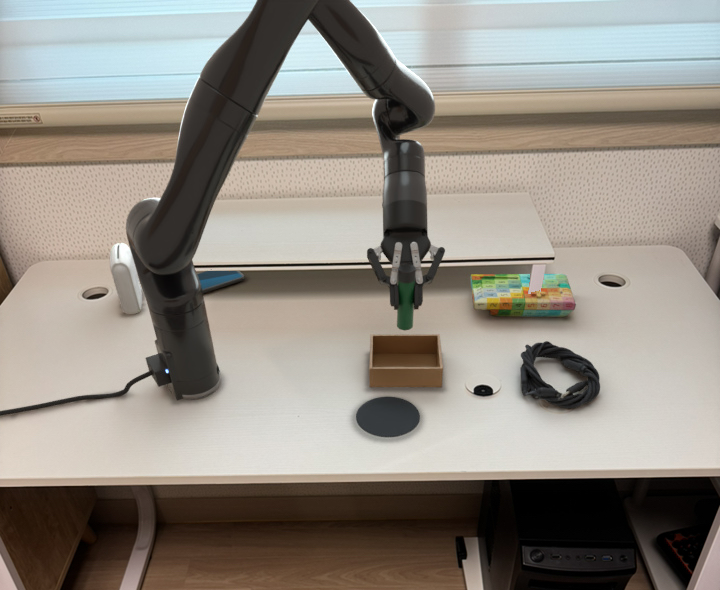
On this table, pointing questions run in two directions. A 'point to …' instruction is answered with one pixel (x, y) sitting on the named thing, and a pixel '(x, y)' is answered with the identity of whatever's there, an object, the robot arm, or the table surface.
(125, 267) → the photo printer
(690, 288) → the table surface
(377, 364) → the box
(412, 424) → the coaster
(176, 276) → the robot arm
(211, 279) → the smartphone
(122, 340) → the table surface
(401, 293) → the glue stick
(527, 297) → the puzzle game
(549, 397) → the cable
